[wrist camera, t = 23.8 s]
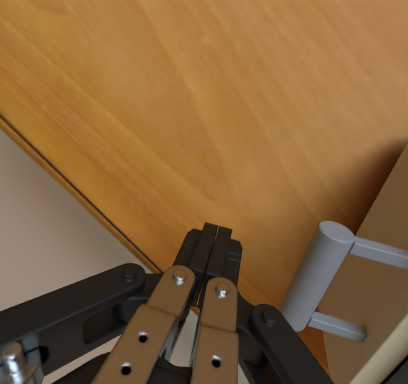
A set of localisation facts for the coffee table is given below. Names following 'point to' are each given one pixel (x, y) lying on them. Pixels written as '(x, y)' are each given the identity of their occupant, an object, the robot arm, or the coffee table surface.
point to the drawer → (359, 288)
